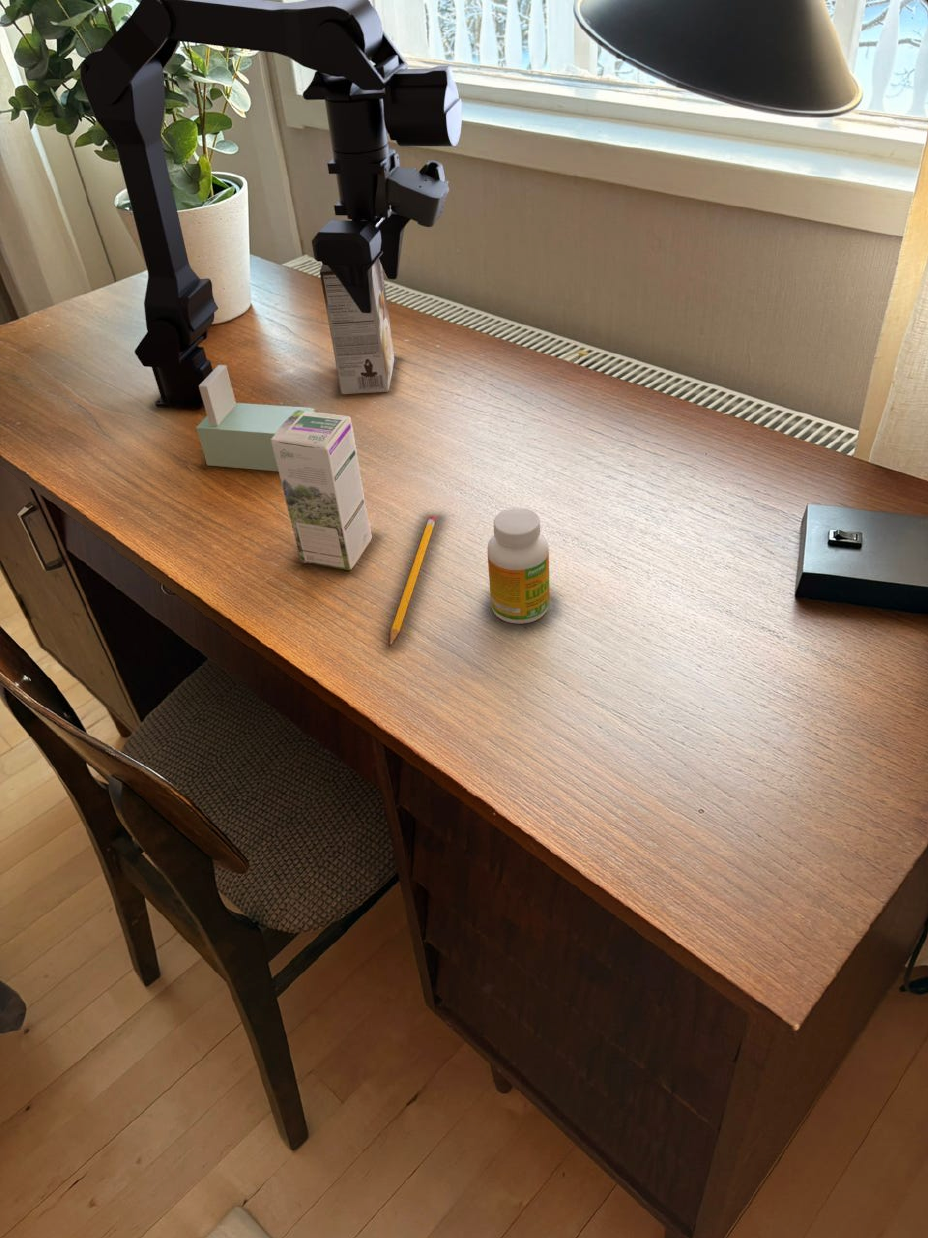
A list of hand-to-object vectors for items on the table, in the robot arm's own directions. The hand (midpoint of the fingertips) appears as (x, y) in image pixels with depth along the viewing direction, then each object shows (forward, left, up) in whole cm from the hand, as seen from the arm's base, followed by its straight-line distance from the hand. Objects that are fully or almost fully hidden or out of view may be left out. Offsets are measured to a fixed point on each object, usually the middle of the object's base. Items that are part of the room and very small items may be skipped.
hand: (380, 295), depth 106 cm
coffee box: (-6, +8, -15) cm, 18 cm away
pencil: (+12, -31, -15) cm, 36 cm away
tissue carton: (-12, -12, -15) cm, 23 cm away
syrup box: (+3, -28, -15) cm, 32 cm away
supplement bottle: (+23, -33, -15) cm, 43 cm away
